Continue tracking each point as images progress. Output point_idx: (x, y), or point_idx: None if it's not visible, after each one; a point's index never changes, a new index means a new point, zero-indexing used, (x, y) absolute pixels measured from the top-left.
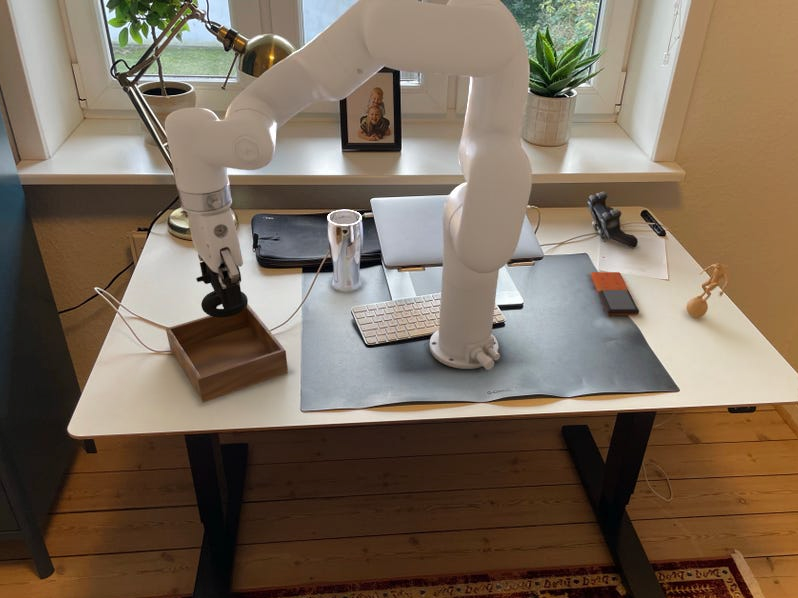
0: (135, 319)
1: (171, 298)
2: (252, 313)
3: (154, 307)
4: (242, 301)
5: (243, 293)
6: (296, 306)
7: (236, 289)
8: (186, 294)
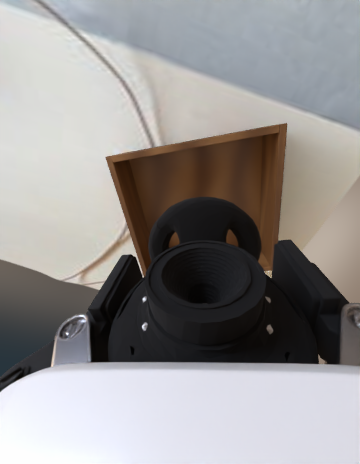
0: (85, 276)
1: (44, 237)
2: (138, 156)
3: (63, 256)
4: (290, 240)
5: (195, 206)
6: (76, 43)
7: (344, 300)
8: (35, 220)
